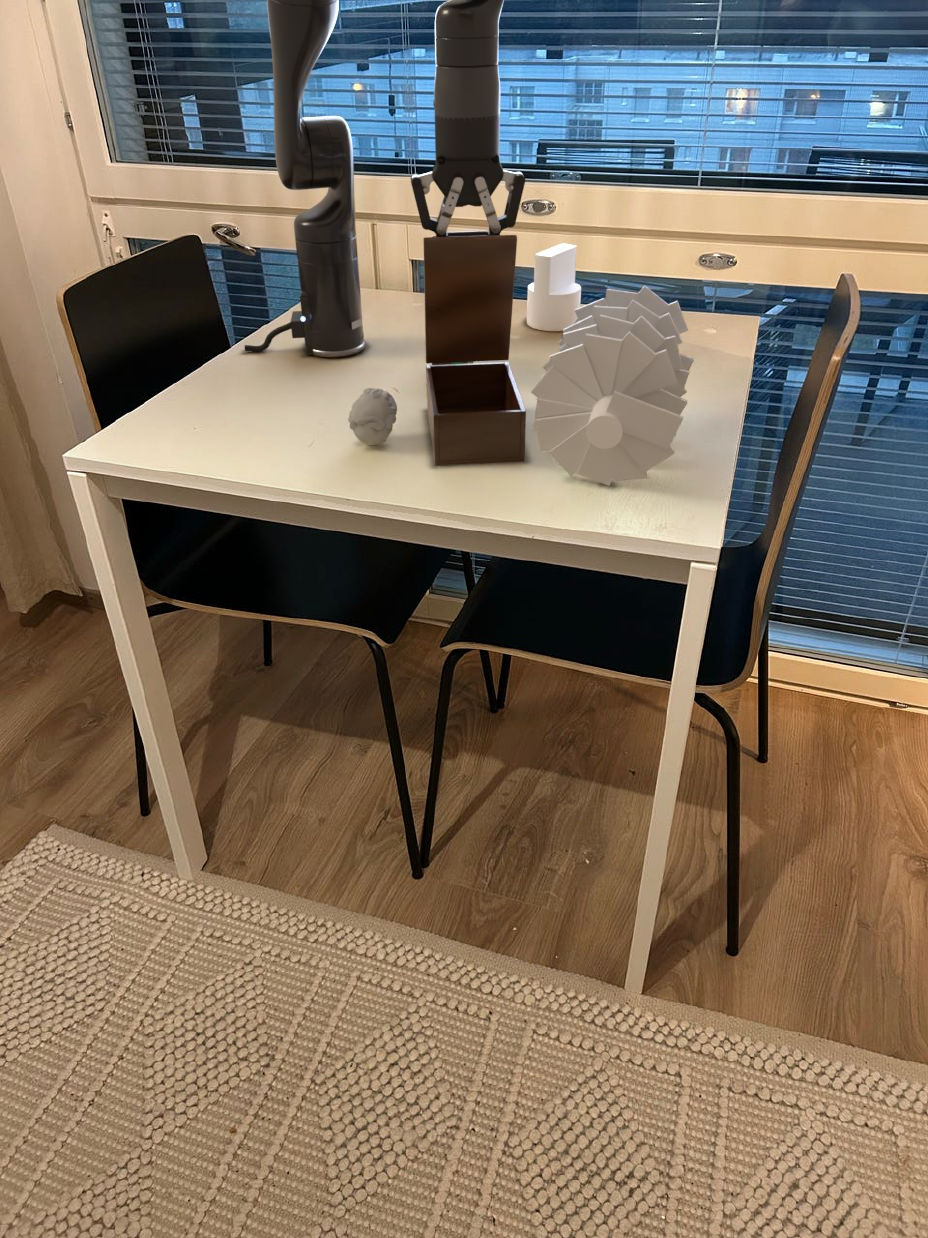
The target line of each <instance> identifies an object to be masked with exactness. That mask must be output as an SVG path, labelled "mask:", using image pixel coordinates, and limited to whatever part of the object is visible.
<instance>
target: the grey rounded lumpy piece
mask: <svg viewBox="0 0 928 1238" xmlns="http://www.w3.org/2000/svg"><path fill="white" fill-rule="evenodd" d="M397 405H398V404H397V402H396V400H395V398H394V397H393V395H392V393H389V391H388V390H383V389H382V388H375V387H366V388H364V389H363V391H362V393H361V395H359V397H358V398H357V399H356V400H355V401H354V402H353V403H352V406H351V410H350V411H349V413H348V418H347V422H348V423H349V429H350V430H352V431H353V435H354V436H355V437H356V439H357V440H358V441H359V442H360V443H362V444H364V445H367V446H378V445H380V444H383V443H384V442H385V441H386V440H387V439H388V438H389V436H390V435H391V433H392V431H393V428H394V424H395V423H396V421H397V416H396V415H397V412H398V406H397Z"/></svg>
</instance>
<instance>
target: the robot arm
mask: <svg viewBox="0 0 928 1238" xmlns="http://www.w3.org/2000/svg"><path fill="white" fill-rule="evenodd" d="M504 2H505V0H448V1H445V2H443V3H441V4H440V5H439V6H438V7H437V9H436V12H435V16H434V17H435V19H434V53H435V55H434V56H435V57H434V58H435V71H434V72H435V74H434V85H433V102H432V103H433V109H434V148H435V161H434V165H433V167H432V169H431V171H429V172H426V173H422V174H418V173H413V174H411V176H410V184H411V188H412V192H413V197H414V201H415V205H416V208H417V212H418V216H419V220H420V225H421V227H422V229H423V230H425V231H431V232H433V233H434V234H435V237H448V233H447V232H448V228H449V225H450V223H451V219H452V217H453V215H454V212H455V209H456V208H464V207H466V206H471V207H482V210H483V212H484V215H485V218H486V221H487V224H488V229H487V230H486V231H488V236H490V235H501V233H502V231H504V230H505V229H508V228H510V229H511V228H514V227H515V226H516V222H517V219H518V214H519V210H520V206H521V200H522V196H523V193H524V189H525V185H526V177H525V176H524V174H523V173H522V172H521V171H519V170H517V171H510V170H505V169H504V168H503V166H502V164H501V160H500V153H501V151H500V149H501V147H500V146H501V145H500V144H501V143H500V142H501V132H500V131H501V81H500V72H499V70H500V69H499V34H500V31H499V29H500V27H499V26H500V25H499V23H500V17H501V13H502V9H503V6H504ZM339 6H340V5H339V0H266V7H267V17H268V27H269V38H270V47H271V59H272V81H273V82H272V83H273V140H274V156H275V157H274V158H275V165H276V169H277V174H278V177H279V180H280V182H281V184H282V185H283V187H285V188H286V189H288V190H291V191H302V190H303V191H305V190H315V189H327V192H326V195H325V196H324V197H323V198H322V199H321V200H320V201H319V202H318V203H316V204H315V205H314V206H312V207H310V208H309V209H307V210H305V211H303V212H301V213H299V214H297V216H296V217H295V218H294V220H293V231H294V240H295V249H296V258H297V268H298V277H299V287H300V293H299V300H300V301H299V302H300V309H301V310H293V311H292V313H291V316H290V317H291V318H290V322H288V323H286V324H285V323H284V324H282V325H281V326H278V327H276V328H274V329H272V330H271V331H270V332H269V333H268V334H267V335H266V337H265V339H264V340H263V341H264V342H263V343H262V344H260V345H250V344H244V351H245V352H253V353H261V352H263V351H266V350H267V349H268V348H269V347H270V345H271V343H272V341H273V339H275V338H276V337H277V336H279V335H280V334H282V333H284V332H287V331H290V330H291V339H304V346H305V354H306V355H305V356H316V357H320V358H321V357H322V358H340V357H341V358H342V357H349V356H353V355H356V354H358V353H360V352H362V351H363V350H365V347H366V342H365V334H364V325H363V322H364V321H363V310H362V295H361V281H360V270H359V269H360V267H359V255H358V242H357V240H358V239H357V227H356V199H355V159H354V158H355V157H354V146H353V138H352V134H351V129H350V127H349V125H348V123H347V121H346V120H345V119H344V118H343V117H341V116H339V115H325V116H324V115H323V116H307V117H301V114H302V113H301V112H302V104H303V98H304V94H305V90H306V86H307V84H308V81H309V78H310V75H311V73H312V70H313V68H314V67H315V65H316V63H317V62H318V59H319V57H320V55H321V54H322V52H323V50H324V48H325V46H326V45H327V42H328V41H329V38H330V36H331V34H332V33H333V31H334V28H335V25H336V22H337V19H338V15H339V8H340V7H339ZM502 180H503V181H504V187H505V189H506V191H507V192H508V195H507V200H506V204H505V208H504V213H503V215H501V216H498V215H497V212H496V211H497V210H496V208H495V206H494V202H493V200H492V195H493V194H494V192H495V191H496V190H497V188H498V186H499V184H500V183H501V182H502ZM433 182H434V183H435V185H436V186H437V188H438V189H439V190H440V192H441V193H442V195H443V197H442V201H441V204H440V209H439V213H438V215H437V218H434V217H431V216H430V211H429V207H428V202H427V198H426V195H427V194H429V193H430V192H431V191H430V190H431V184H432V183H433Z"/></svg>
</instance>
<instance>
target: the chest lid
mask: <svg viewBox="0 0 928 1238" xmlns="http://www.w3.org/2000/svg"><path fill="white" fill-rule="evenodd" d="M447 233H448V237H436V236H431V237H430V236H429V237H427V236H426V237H425V236H424V237H423V238H422V239H423V240H422V241H423V283H424V284H423V285H424V286H423V289H424V293H423V294H424V335H425V336H424V341H425V348H424V349H425V364H432V363H450V362H473V363H475V362H498V361H499V362H500V361H509V360H510V347H511V331H512V318H513V304H514V303H513V302H514V291H515V290H514V289H515V277H516V276H515V275H516V262H517V261H516V259H517V248H518V235H517V234H500V235H490V236H488V231H487V230H468V231H467V230H466V231H464V230H463V231H447Z"/></svg>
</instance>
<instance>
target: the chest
mask: <svg viewBox="0 0 928 1238" xmlns="http://www.w3.org/2000/svg"><path fill="white" fill-rule="evenodd" d="M425 377H426V405H427V406H426V407H427V408H426V409H427V418H428V424H429V425H428V426H429V432H430V433H429V434H430V440H431V446H432V447H431V448H432V453H433V462H434V466H455V465H476V464H495V463H496V464H497V463H518V462H519V463H520V462H525V458H526V457H525V456H526V430H527V429H526V425H527V424H526V423H527V411H526V408H525V404H524V402H523V400H522V397H521V394H520V391H519V388H518V386H517V383H516V379H515V376H514V374H513V371H512V368H511V366H510V363H509V361H501V362H500V361H499V362H498V361H495V362H476V363H475V362H473V363H471V364H446V365H432V364H427V365H425Z"/></svg>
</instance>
